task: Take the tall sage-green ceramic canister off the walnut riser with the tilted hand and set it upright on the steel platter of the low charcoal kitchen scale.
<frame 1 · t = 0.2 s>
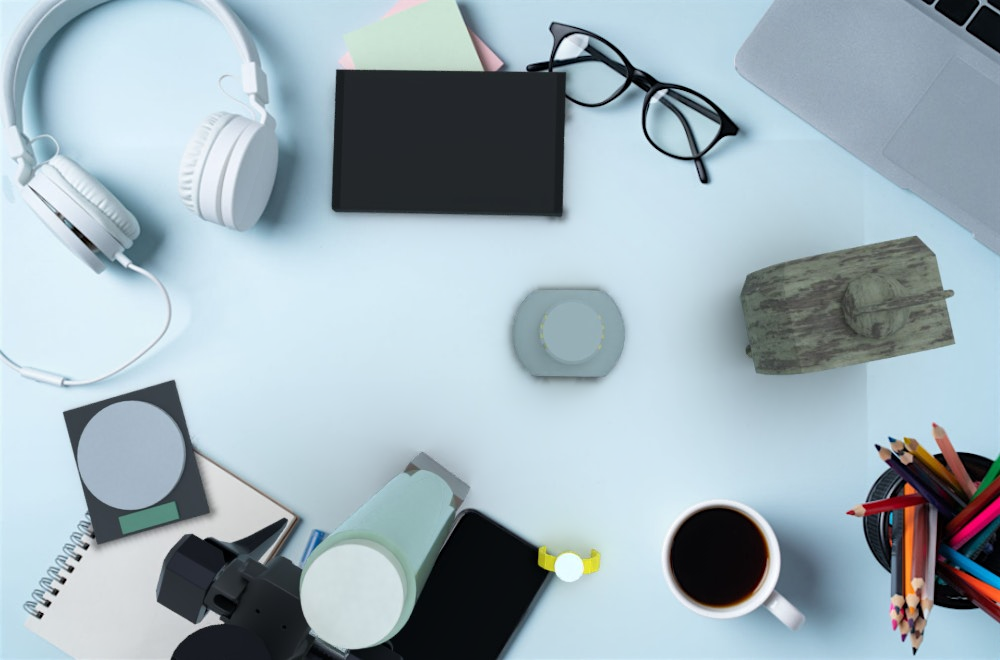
hand: (333, 549, 64), 16 cm above the table, tool tilted 35°, fingers open, 9 cm apart
riser: (430, 491, 80), on the table
canister: (417, 508, 71), point 9 cm above the table, touching riser
scale: (143, 460, 81), on the table
watch: (567, 551, 79), on the table
external hard drive: (451, 148, 81), on the table
toy tank: (794, 314, 79), on the table
air freshener: (567, 334, 80), on the table
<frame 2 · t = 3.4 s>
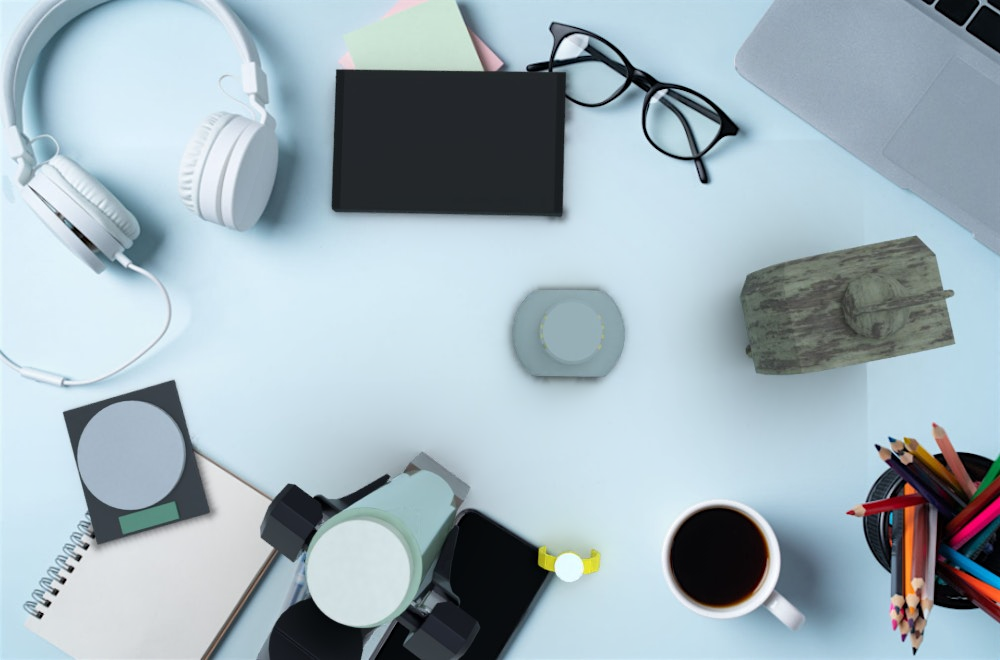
hand: (421, 502, 68), 12 cm above the table, tool tilted 45°, fingers closed on canister, 7 cm apart
canister: (418, 508, 71), point 9 cm above the table, touching gripper, riser
everything else where it was.
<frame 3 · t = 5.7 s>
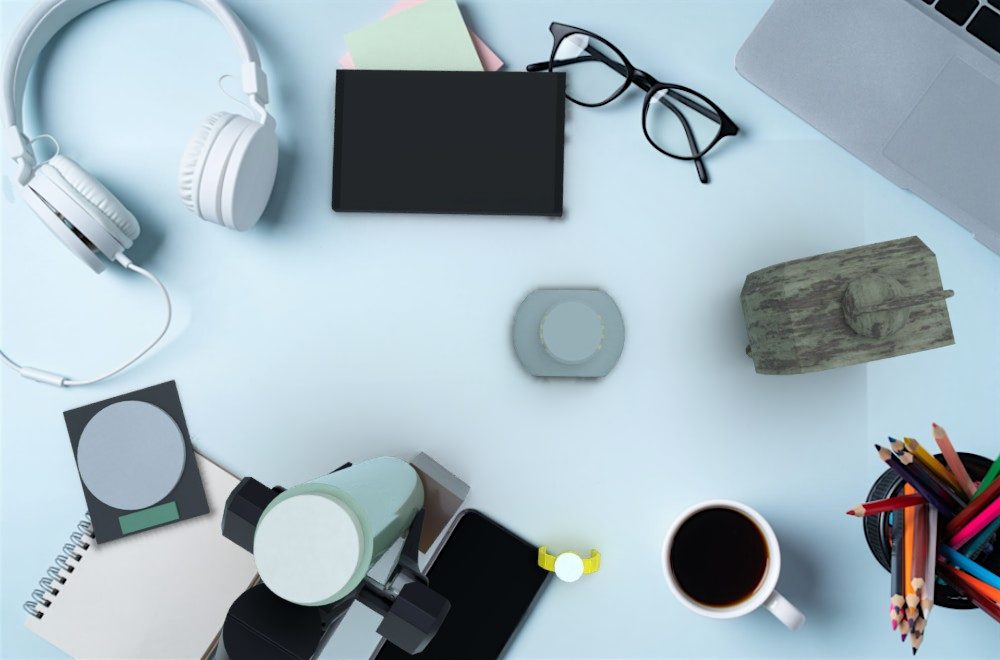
hand: (386, 487, 67), 13 cm above the table, tool tilted 45°, fingers closed on canister, 7 cm apart
canister: (385, 495, 70), point 10 cm above the table, touching gripper
everything else where it was.
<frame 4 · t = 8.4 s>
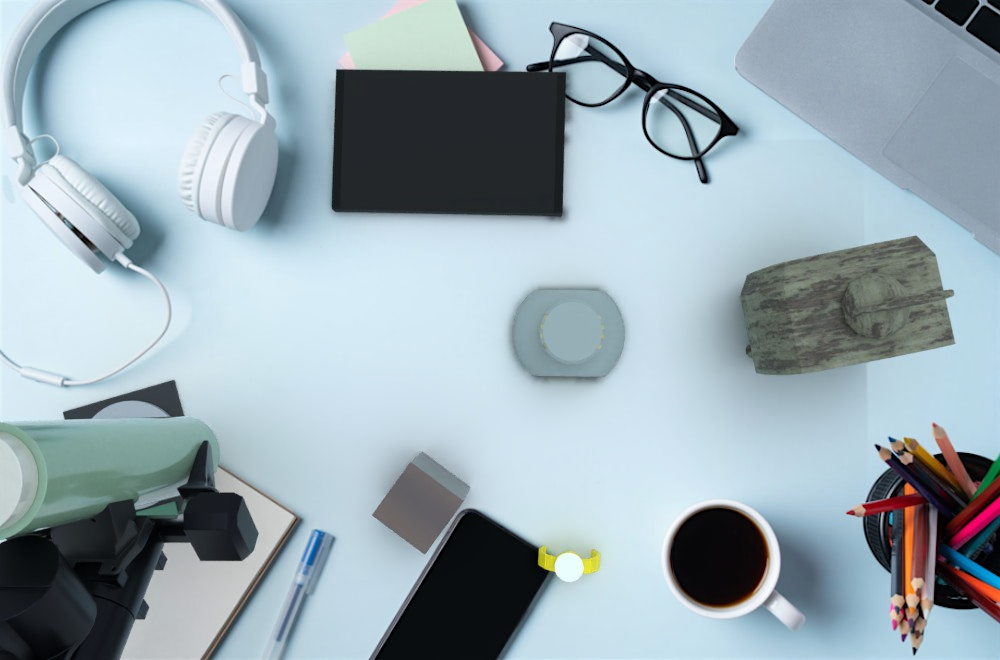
hand: (166, 443, 68), 13 cm above the table, tool tilted 45°, fingers closed on canister, 7 cm apart
canister: (182, 455, 71), point 10 cm above the table, touching gripper
everything else where it was.
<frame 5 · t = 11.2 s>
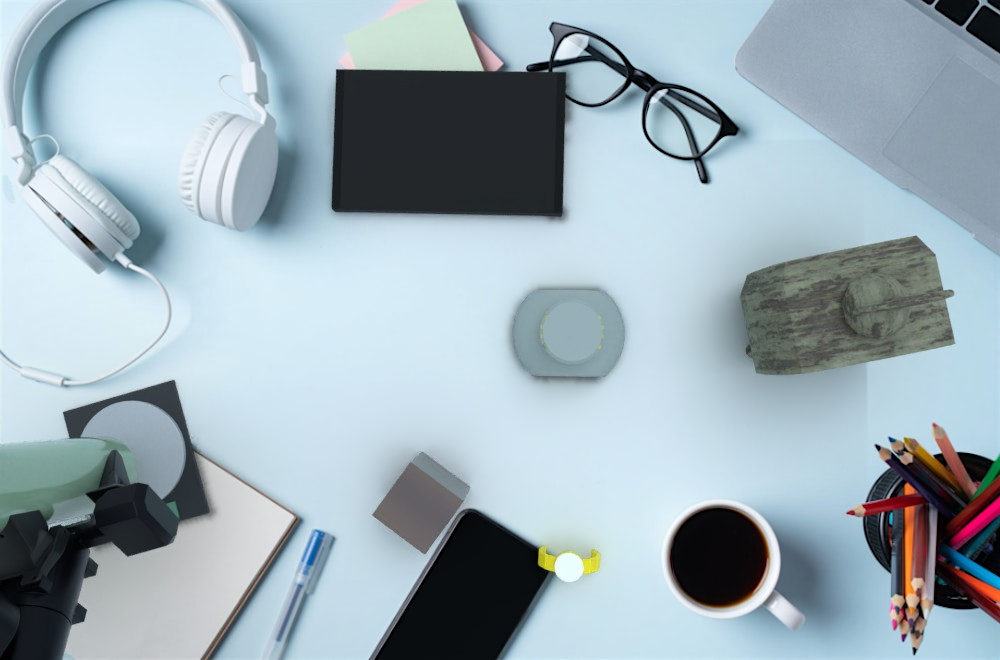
hand: (78, 463, 70), 11 cm above the table, tool tilted 45°, fingers closed on canister, 7 cm apart
canister: (101, 473, 73), point 8 cm above the table, touching gripper
everything else where it was.
when the fingers open (5 cm above the table, at t = 13.4 s): canister stays where it is, resting on arm, scale.
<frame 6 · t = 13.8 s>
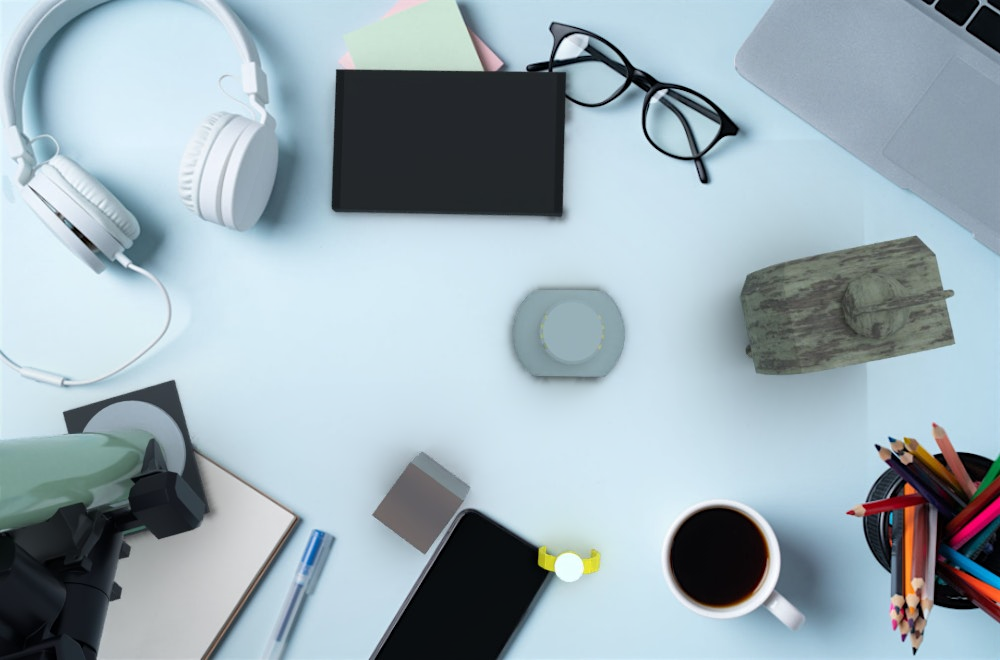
hand: (109, 454, 75), 6 cm above the table, tool tilted 45°, fingers open, 9 cm apart
canister: (132, 463, 79), point 2 cm above the table, touching arm, scale
everything else where it was.
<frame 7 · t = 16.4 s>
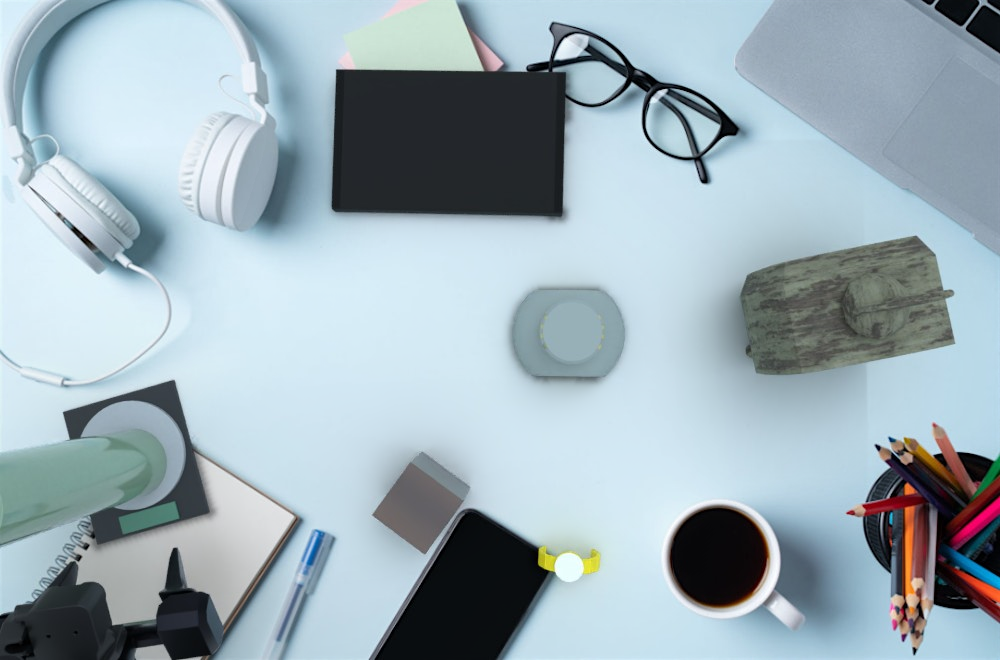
hand: (126, 556, 73), 8 cm above the table, tool tilted 40°, fingers open, 9 cm apart
canister: (133, 463, 79), point 2 cm above the table, touching scale
everything else where it was.
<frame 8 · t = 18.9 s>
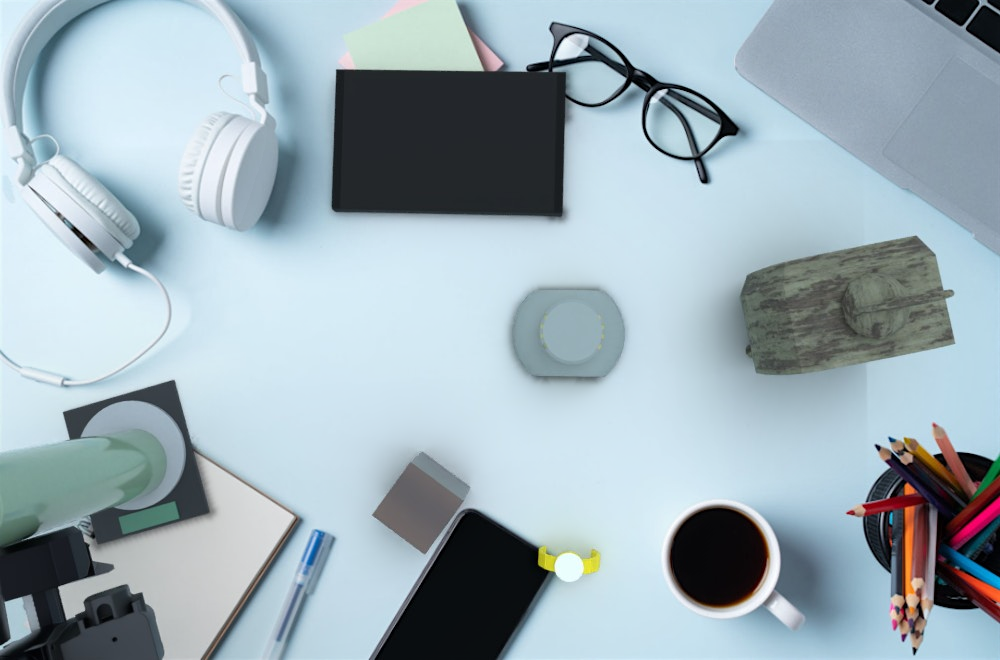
hand: (122, 619, 68), 13 cm above the table, tool pointing down, fingers open, 9 cm apart
nothing on the table moved.
at the end: canister inside the target area on the scale (0.5 cm from its centre), point 2.2 cm above the scale's base; canister tilted 0°; the gripper is holding nothing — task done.
